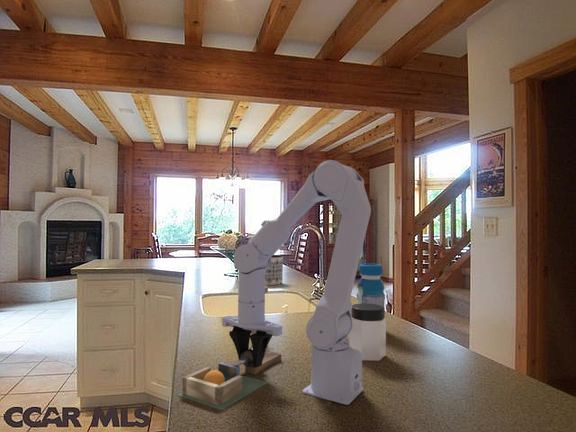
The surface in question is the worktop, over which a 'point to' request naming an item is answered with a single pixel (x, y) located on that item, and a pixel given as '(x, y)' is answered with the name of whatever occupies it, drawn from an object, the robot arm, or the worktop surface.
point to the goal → (211, 387)
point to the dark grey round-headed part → (236, 365)
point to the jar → (368, 331)
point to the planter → (274, 271)
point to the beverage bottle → (370, 285)
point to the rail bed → (264, 363)
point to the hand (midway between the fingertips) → (250, 364)
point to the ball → (214, 377)
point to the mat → (247, 388)
